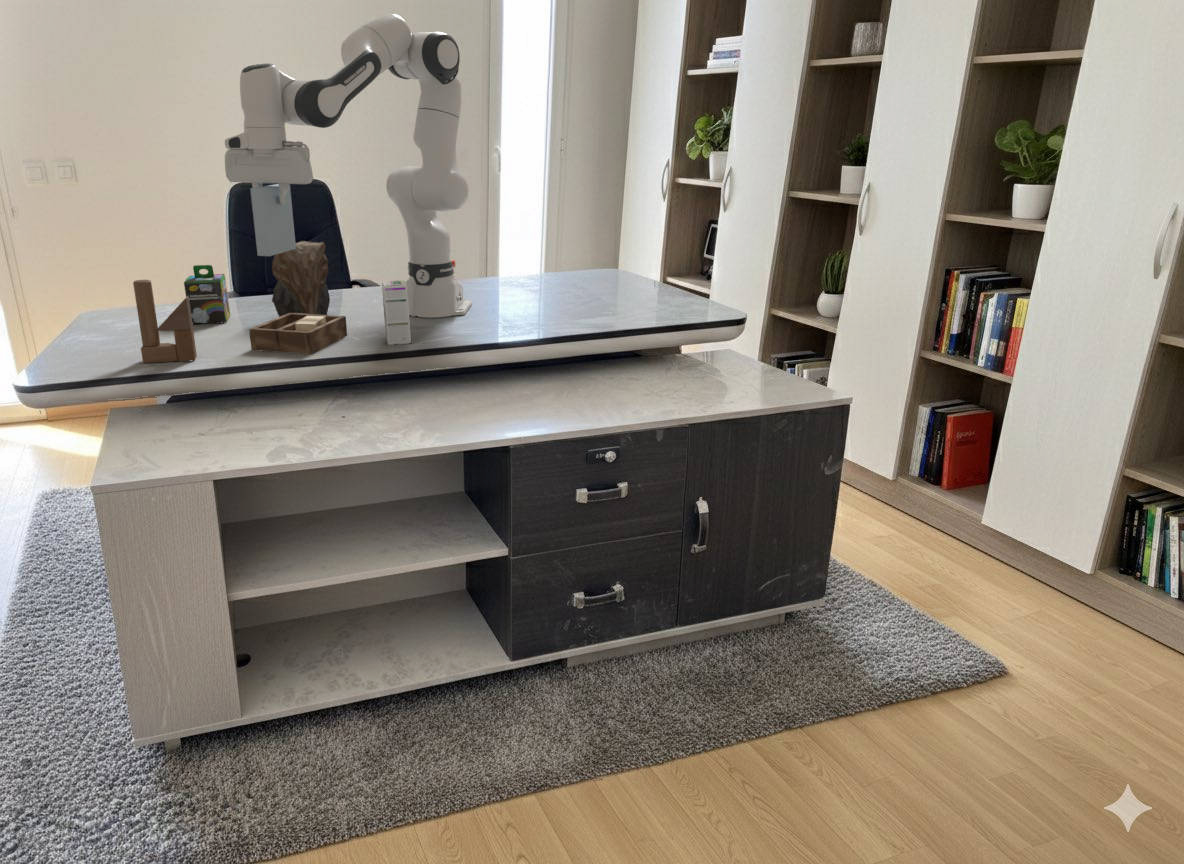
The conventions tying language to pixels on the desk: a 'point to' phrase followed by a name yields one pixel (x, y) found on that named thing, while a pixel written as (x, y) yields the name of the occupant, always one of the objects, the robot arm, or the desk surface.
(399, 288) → the syrup box
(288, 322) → the walnut rack
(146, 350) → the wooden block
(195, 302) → the chalk box
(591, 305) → the desk surface
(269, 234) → the tall sheet
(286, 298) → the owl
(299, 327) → the short pine offcut
